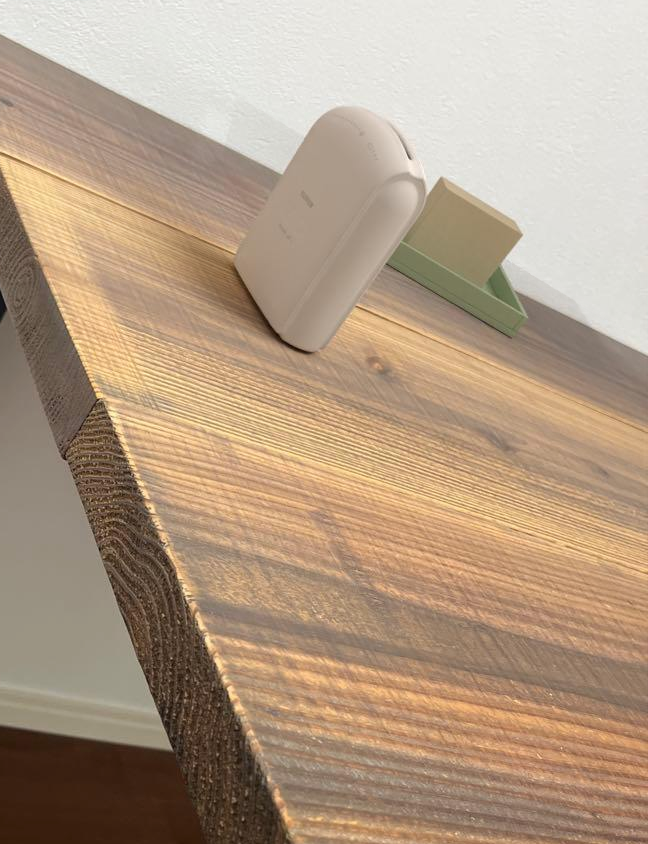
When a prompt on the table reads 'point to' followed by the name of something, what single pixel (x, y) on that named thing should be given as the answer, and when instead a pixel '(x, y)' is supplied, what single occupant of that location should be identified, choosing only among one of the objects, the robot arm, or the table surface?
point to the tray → (465, 289)
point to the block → (462, 233)
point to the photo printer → (331, 224)
